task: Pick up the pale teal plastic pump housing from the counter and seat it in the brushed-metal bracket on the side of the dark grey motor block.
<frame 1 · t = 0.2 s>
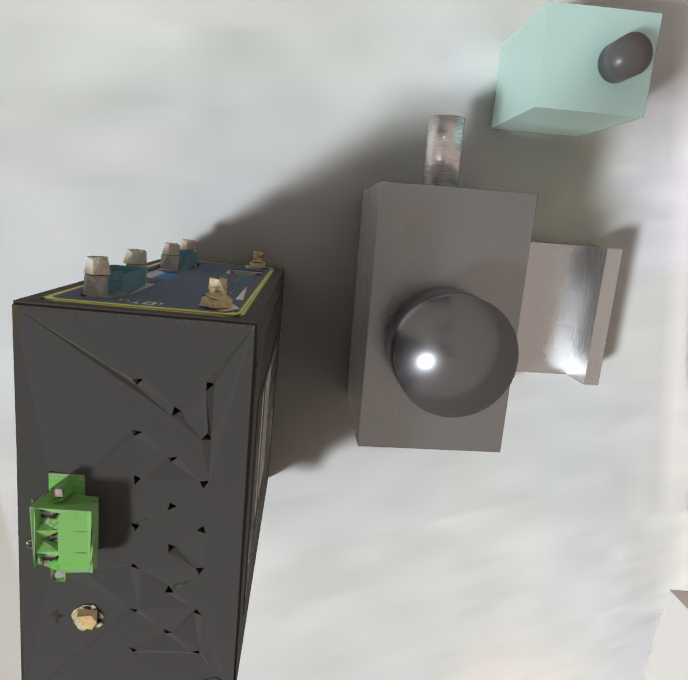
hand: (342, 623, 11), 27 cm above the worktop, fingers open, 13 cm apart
motor: (412, 299, 37), on the worktop
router: (219, 372, 38), on the worktop
pump: (541, 91, 35), on the worktop
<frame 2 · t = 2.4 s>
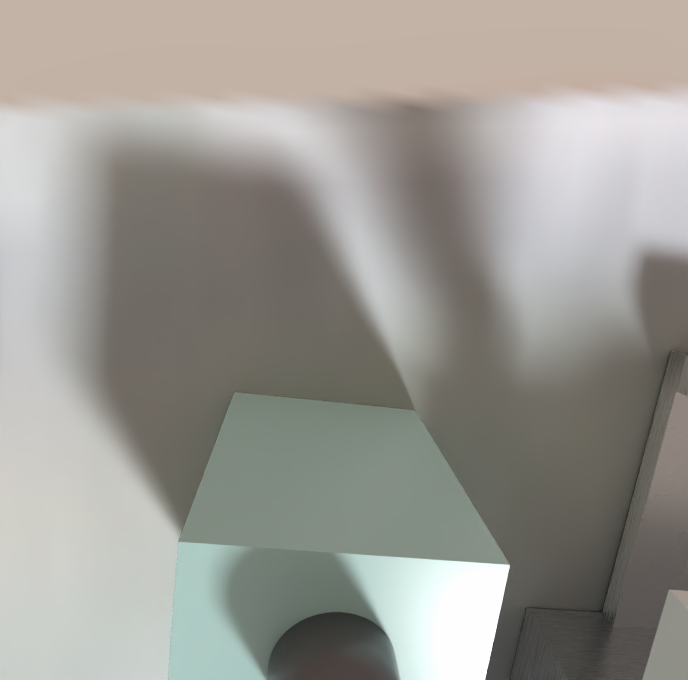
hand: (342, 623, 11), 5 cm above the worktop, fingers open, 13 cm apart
pump: (313, 500, 15), on the worktop
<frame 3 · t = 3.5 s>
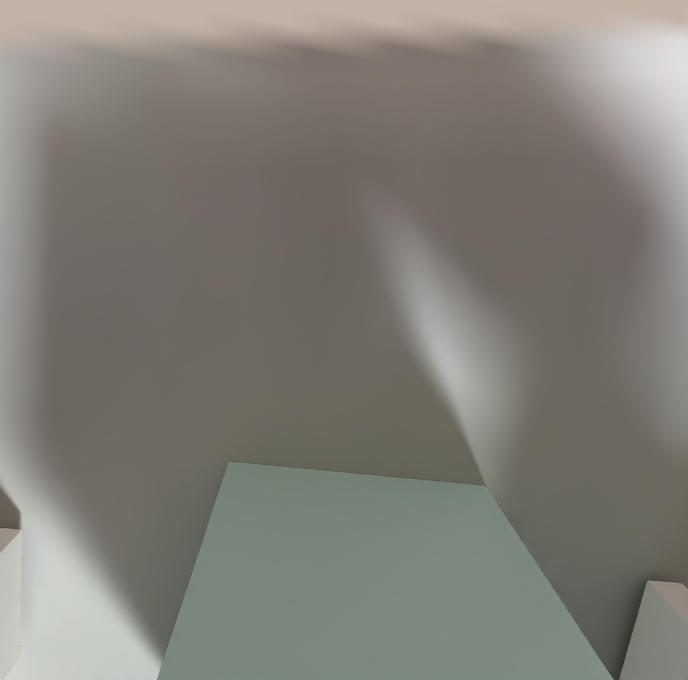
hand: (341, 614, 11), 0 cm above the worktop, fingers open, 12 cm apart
pump: (339, 607, 11), on the worktop
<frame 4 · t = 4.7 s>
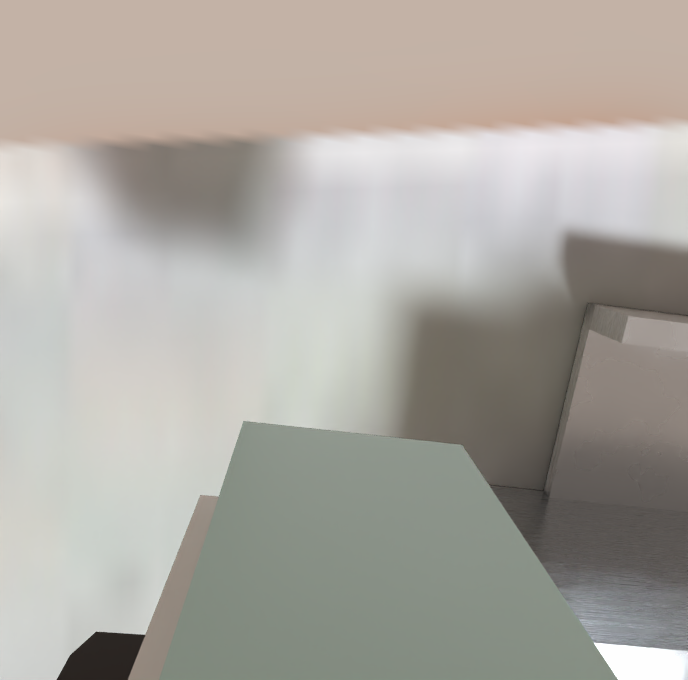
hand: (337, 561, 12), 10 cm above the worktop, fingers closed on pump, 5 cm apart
motor: (618, 578, 25), on the worktop
pump: (336, 550, 13), point 10 cm above the worktop, touching gripper
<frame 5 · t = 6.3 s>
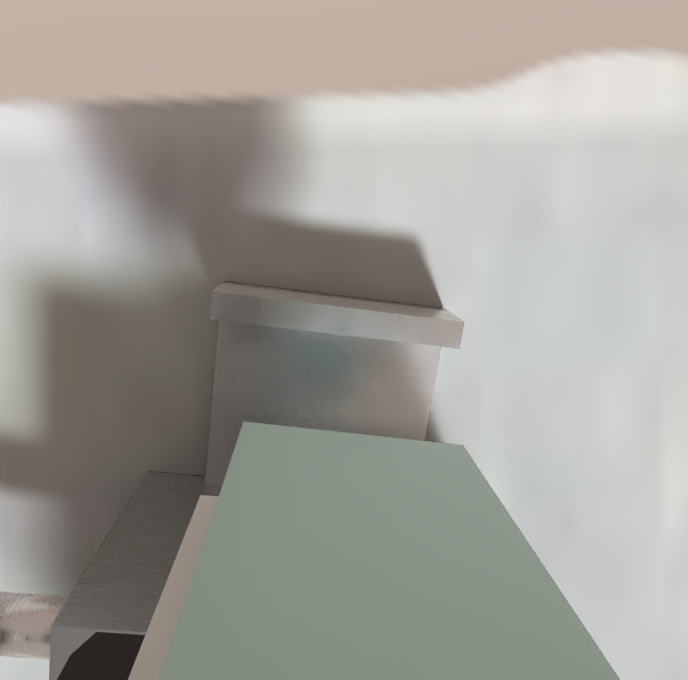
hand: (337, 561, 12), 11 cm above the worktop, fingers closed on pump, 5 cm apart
motor: (300, 566, 25), on the worktop
pump: (337, 551, 13), point 10 cm above the worktop, touching gripper
when the fingers open (2 cm above the worktop, at t = 8.1 s): pump stays where it is, resting on motor.
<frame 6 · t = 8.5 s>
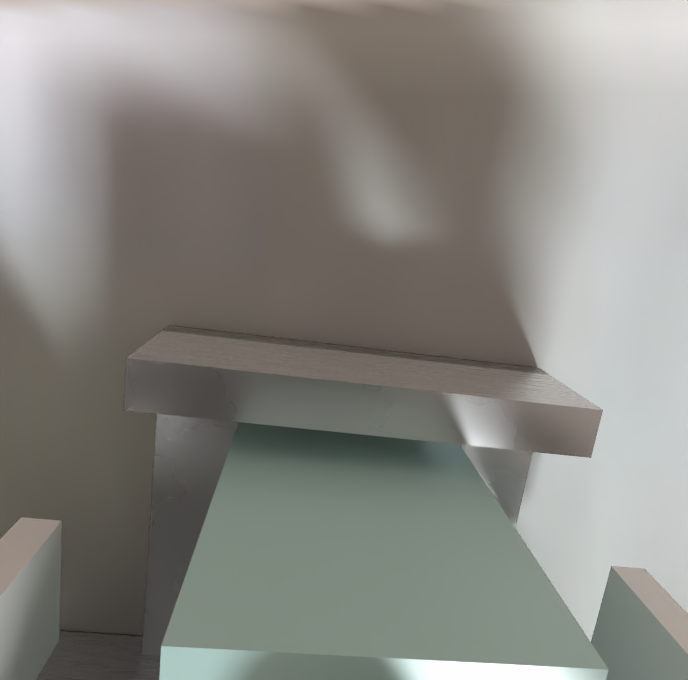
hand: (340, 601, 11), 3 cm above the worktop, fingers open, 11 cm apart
pump: (334, 536, 13), point 1 cm above the worktop, touching motor
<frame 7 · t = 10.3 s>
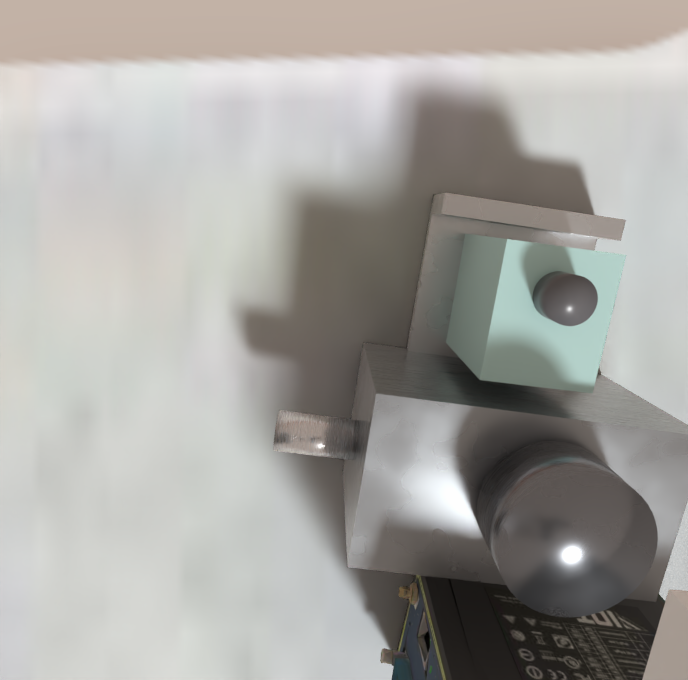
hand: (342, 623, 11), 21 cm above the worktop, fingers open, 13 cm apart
motor: (470, 424, 32), on the worktop
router: (520, 620, 35), on the worktop
pump: (500, 295, 29), point 1 cm above the worktop, touching motor
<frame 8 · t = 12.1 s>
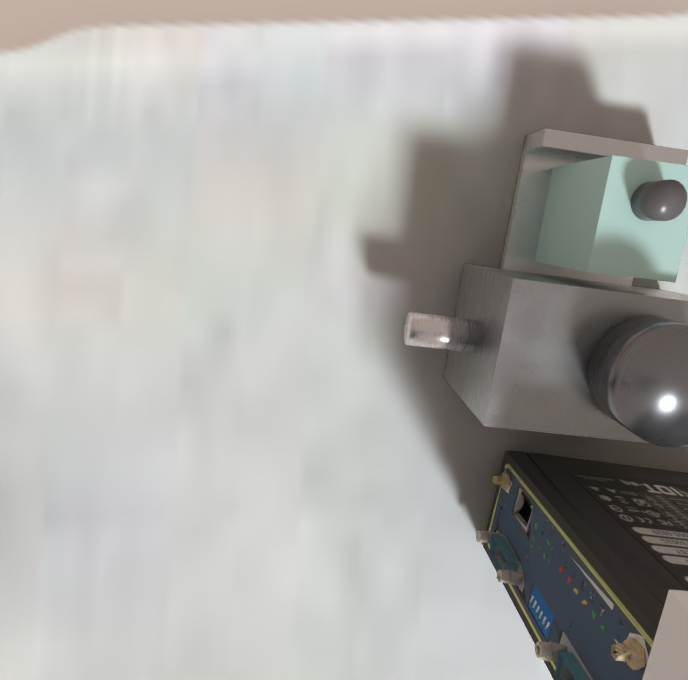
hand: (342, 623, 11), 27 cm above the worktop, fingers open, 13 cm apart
motor: (551, 333, 38), on the worktop
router: (589, 508, 41), on the worktop
pump: (580, 220, 35), point 1 cm above the worktop, touching motor
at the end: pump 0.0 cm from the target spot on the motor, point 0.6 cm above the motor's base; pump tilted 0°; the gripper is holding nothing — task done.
